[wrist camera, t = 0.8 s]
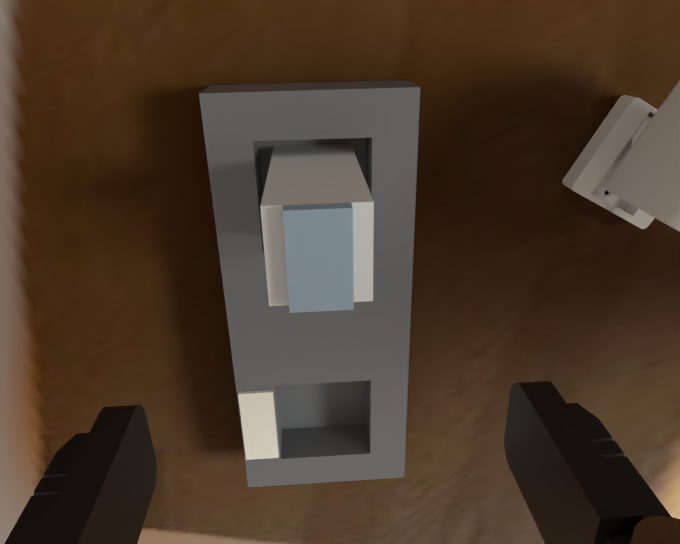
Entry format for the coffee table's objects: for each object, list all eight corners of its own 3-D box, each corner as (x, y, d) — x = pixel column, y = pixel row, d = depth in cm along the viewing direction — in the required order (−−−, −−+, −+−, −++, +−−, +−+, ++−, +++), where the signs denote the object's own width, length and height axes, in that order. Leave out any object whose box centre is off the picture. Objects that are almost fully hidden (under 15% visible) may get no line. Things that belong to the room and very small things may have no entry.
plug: (350, 143, 28) (375, 206, 18) (351, 215, 30) (375, 308, 20) (273, 145, 28) (258, 211, 18) (279, 218, 30) (268, 313, 20)
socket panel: (407, 79, 27) (421, 87, 24) (395, 441, 38) (404, 479, 35) (210, 85, 27) (197, 93, 24) (252, 449, 37) (248, 489, 34)
